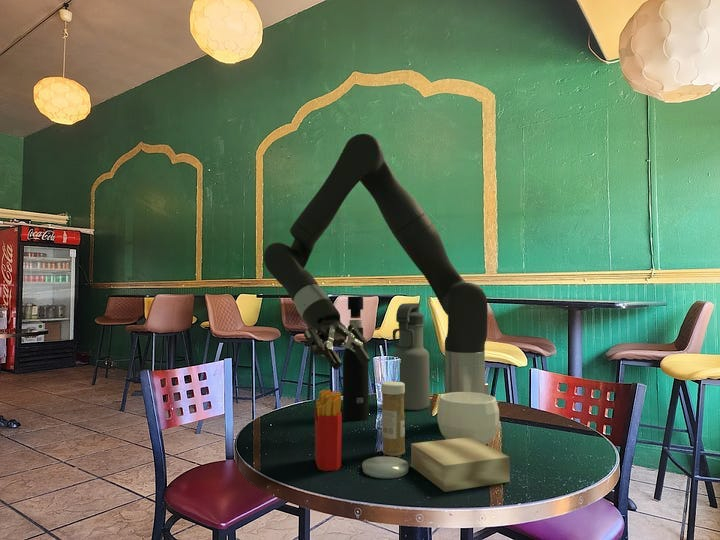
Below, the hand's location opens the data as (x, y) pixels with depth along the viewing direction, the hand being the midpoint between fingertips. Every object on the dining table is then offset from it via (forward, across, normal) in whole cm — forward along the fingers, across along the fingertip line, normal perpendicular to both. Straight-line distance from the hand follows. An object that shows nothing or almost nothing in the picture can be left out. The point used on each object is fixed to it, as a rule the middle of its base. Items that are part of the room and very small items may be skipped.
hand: (353, 365), depth 103 cm
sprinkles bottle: (+19, 0, +4) cm, 19 cm away
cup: (+25, +14, -2) cm, 28 cm away
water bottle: (+4, +34, +18) cm, 39 cm away
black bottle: (+2, +15, +21) cm, 26 cm away
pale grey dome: (+22, -8, 0) cm, 23 cm away
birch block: (+29, -1, -7) cm, 30 cm away
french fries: (+15, -13, +7) cm, 21 cm away
